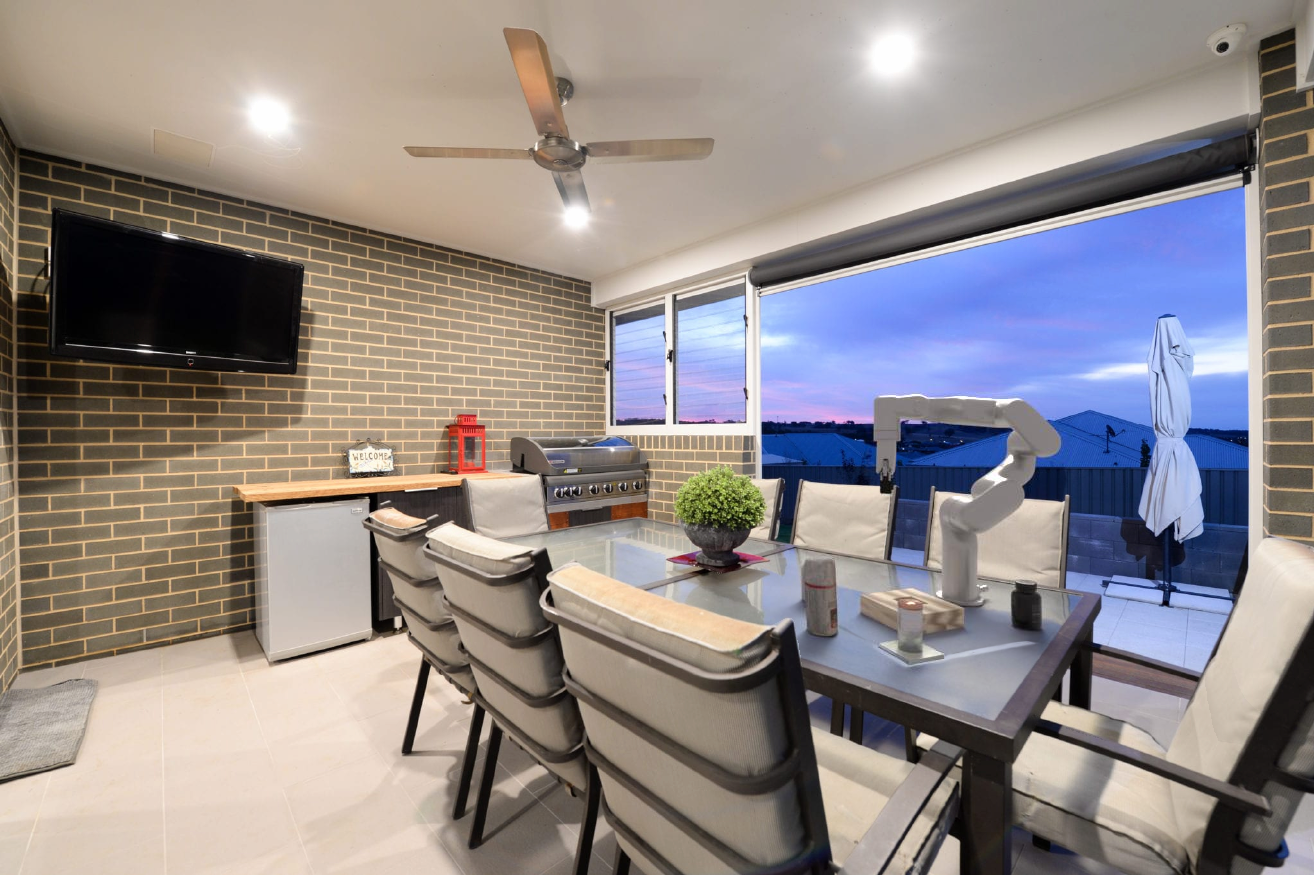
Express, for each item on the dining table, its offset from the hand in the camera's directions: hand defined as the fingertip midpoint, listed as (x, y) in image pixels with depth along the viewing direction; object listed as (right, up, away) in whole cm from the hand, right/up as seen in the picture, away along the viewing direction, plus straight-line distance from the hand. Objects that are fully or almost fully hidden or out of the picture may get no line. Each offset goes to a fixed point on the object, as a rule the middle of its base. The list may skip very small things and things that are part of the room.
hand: (886, 491), depth 164 cm
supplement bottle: (+28, -34, -22) cm, 49 cm away
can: (-22, -34, 0) cm, 41 cm away
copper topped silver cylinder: (-11, -34, -37) cm, 51 cm away
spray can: (-27, -35, -24) cm, 50 cm away
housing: (-2, -34, -19) cm, 39 cm away
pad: (-11, -35, -37) cm, 52 cm away
